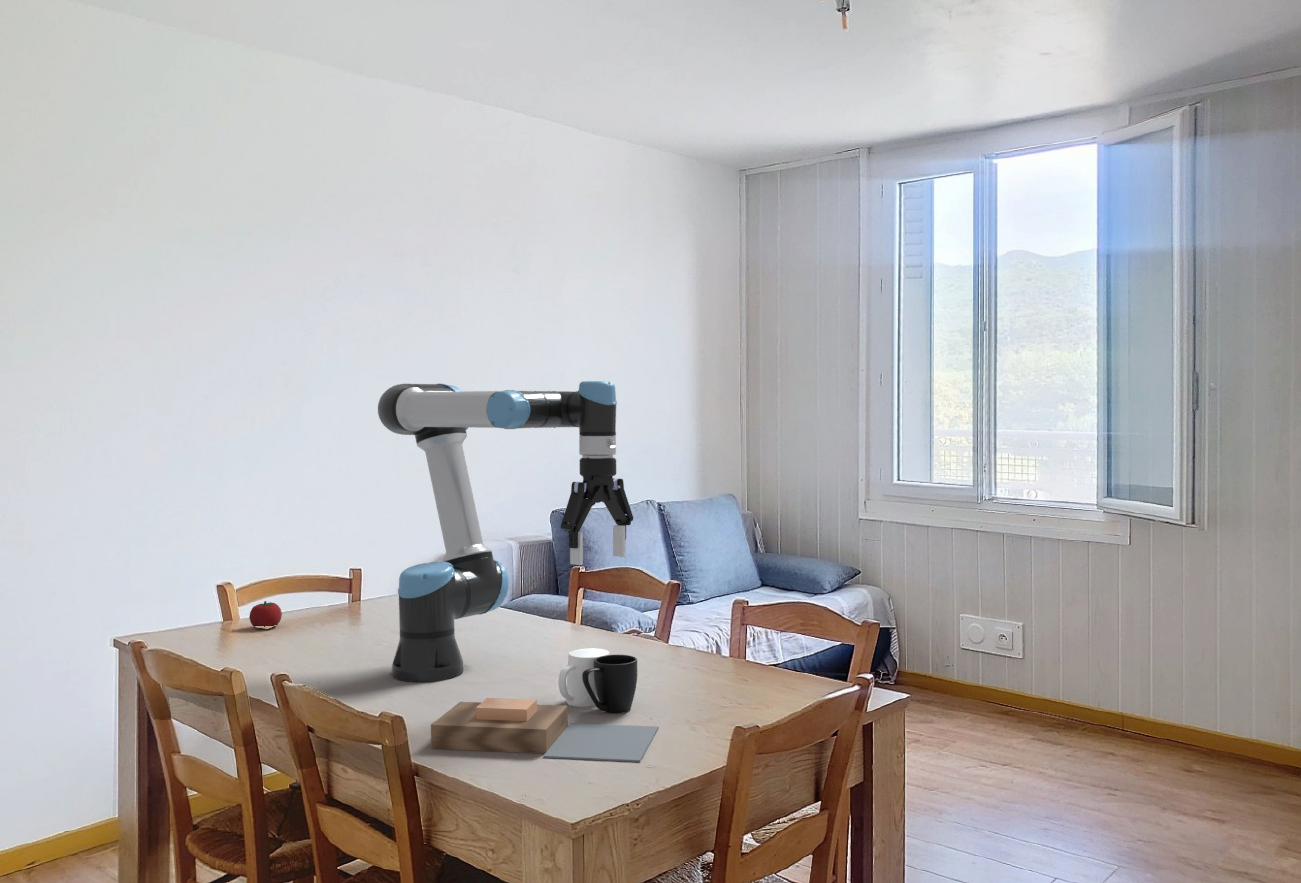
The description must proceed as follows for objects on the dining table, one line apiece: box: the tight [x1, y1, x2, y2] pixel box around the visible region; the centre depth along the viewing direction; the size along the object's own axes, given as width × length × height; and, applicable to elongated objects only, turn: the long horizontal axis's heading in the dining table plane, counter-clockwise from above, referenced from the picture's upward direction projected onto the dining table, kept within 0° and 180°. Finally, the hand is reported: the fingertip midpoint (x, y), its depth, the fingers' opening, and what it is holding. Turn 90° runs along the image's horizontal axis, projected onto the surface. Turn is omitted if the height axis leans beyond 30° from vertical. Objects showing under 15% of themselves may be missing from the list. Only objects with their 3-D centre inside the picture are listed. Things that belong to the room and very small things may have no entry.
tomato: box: [248, 600, 283, 627], centre depth 275 cm, size 8×8×7 cm
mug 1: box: [558, 647, 610, 708], centre depth 201 cm, size 12×9×8 cm
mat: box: [542, 722, 660, 763], centre depth 176 cm, size 16×18×1 cm
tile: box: [476, 697, 538, 721], centre depth 179 cm, size 9×6×2 cm, turn 80°
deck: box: [430, 701, 569, 755], centre depth 179 cm, size 20×14×4 cm
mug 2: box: [582, 654, 638, 715], centre depth 194 cm, size 8×12×10 cm
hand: (598, 560), depth 212 cm, fingers open, 13 cm apart
